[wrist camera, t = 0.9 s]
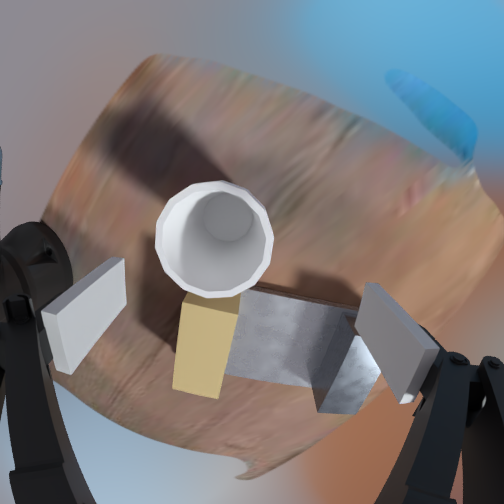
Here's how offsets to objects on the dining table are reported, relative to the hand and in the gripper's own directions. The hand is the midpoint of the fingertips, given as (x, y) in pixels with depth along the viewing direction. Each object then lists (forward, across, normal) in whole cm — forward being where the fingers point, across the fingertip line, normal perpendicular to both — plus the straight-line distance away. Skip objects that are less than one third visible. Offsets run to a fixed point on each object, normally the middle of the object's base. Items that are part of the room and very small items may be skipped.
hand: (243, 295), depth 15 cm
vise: (+21, +6, -16) cm, 27 cm away
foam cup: (+21, -2, 0) cm, 21 cm away
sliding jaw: (+19, -4, -15) cm, 25 cm away
